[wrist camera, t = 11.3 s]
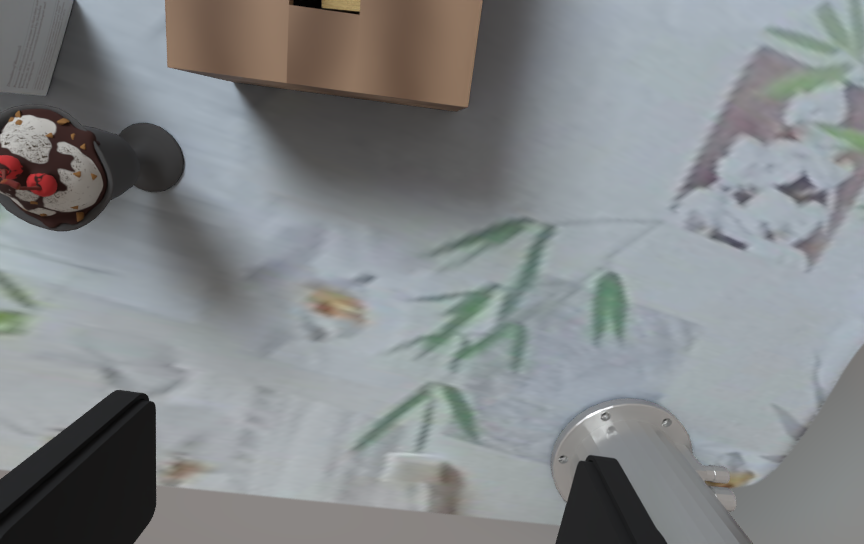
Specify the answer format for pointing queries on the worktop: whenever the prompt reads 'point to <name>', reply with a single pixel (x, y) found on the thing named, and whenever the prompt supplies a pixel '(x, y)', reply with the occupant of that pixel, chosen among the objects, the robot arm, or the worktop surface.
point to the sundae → (77, 165)
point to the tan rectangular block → (342, 6)
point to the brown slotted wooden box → (332, 47)
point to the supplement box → (30, 43)
